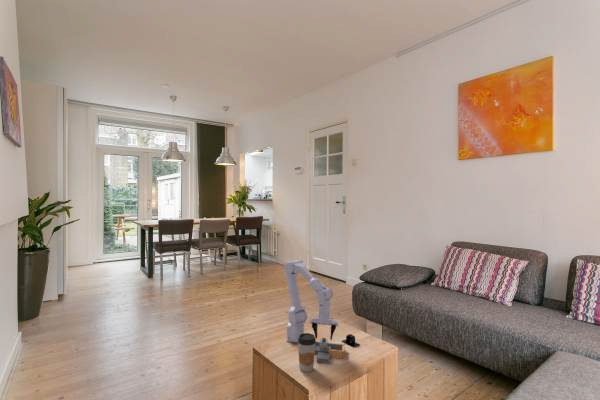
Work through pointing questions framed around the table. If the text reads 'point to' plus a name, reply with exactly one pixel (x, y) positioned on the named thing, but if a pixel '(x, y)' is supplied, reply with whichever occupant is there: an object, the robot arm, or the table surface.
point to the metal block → (323, 344)
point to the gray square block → (323, 357)
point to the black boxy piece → (350, 341)
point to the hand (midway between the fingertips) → (323, 338)
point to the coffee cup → (306, 351)
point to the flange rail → (332, 349)
